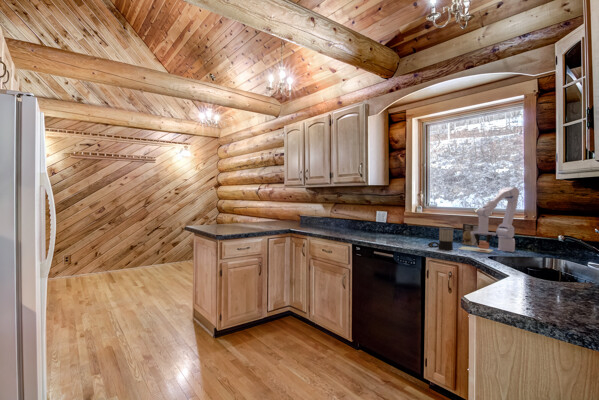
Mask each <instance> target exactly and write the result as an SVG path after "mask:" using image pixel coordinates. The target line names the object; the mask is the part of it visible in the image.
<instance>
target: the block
mask: <svg viewBox="0 0 599 400" xmlns="http://www.w3.org/2000/svg"><path fill="white" fill-rule="evenodd" d="M476 248H481V249H490V242H489V243H488V242H486V240H479V245H477V246H476Z"/></svg>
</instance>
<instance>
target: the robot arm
mask: <svg viewBox="0 0 599 400" xmlns="http://www.w3.org/2000/svg"><path fill="white" fill-rule="evenodd" d="M520 193H521V192H520V191H519V189H518V187H515V186H513V187H502V188H500V189H499V190H498V193H497V194H496V195H495V197H494V198H493V199H491V200H488V201H487V202H486V203H485V204H484V205H483V206H482V207H480V208H478V209H477V211H476V215H477V218H478V225H479V228H478V232H473V231H471V234H472V235H473V234H474V236H475V238H476V241H477V245H479V241H480V237H481V236H485V239H486V240H485V241H486V242H488V243H489V244H490V241H491V240H492V238H493V236H496V235H497V238H498V247H497V249H496V250H497V251H503V252H508V253H514V252H515V251H516V240H515V238H514V237H515V227H514V226H513V225H512V224H513V221H514V217H515V213H516V209H517V206H518V205H517V204H518V202H519V196H520ZM503 199H505V200H506V201H507V204H506V206H505V212H504V214H503V215H504V216H503V219H502V223H500V224H498V227H497V228H496V230H495V232H493V231H492V232H490V231H489V221H490V220H489V219H490V217H491V215H492V212H493V211H494V209H496V208H497V206H498V203H499V202H501V201H502V200H503Z"/></svg>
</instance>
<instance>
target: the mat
mask: <svg viewBox="0 0 599 400" xmlns="http://www.w3.org/2000/svg"><path fill="white" fill-rule="evenodd" d="M458 250H464V251H471V252H472V251H473V252H480V253H488V254H489V253H491V252H493V251H494V249H490V248H489V249H481V248H479V247H473V246H461V247H459V248H458Z"/></svg>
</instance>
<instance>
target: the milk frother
mask: <svg viewBox="0 0 599 400" xmlns="http://www.w3.org/2000/svg"><path fill="white" fill-rule="evenodd" d="M438 228H439V231H438V232H439V235H438V236H439V238H438V240H439V241H438V242H437V241H432V242H428V243H427V246H428V247H429V248H438V249H439V250H440V251H441V250H442V251H453V250H454V249H453V247H454V245H453V240H454V228H452V227H438ZM433 244H435V245H433Z"/></svg>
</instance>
